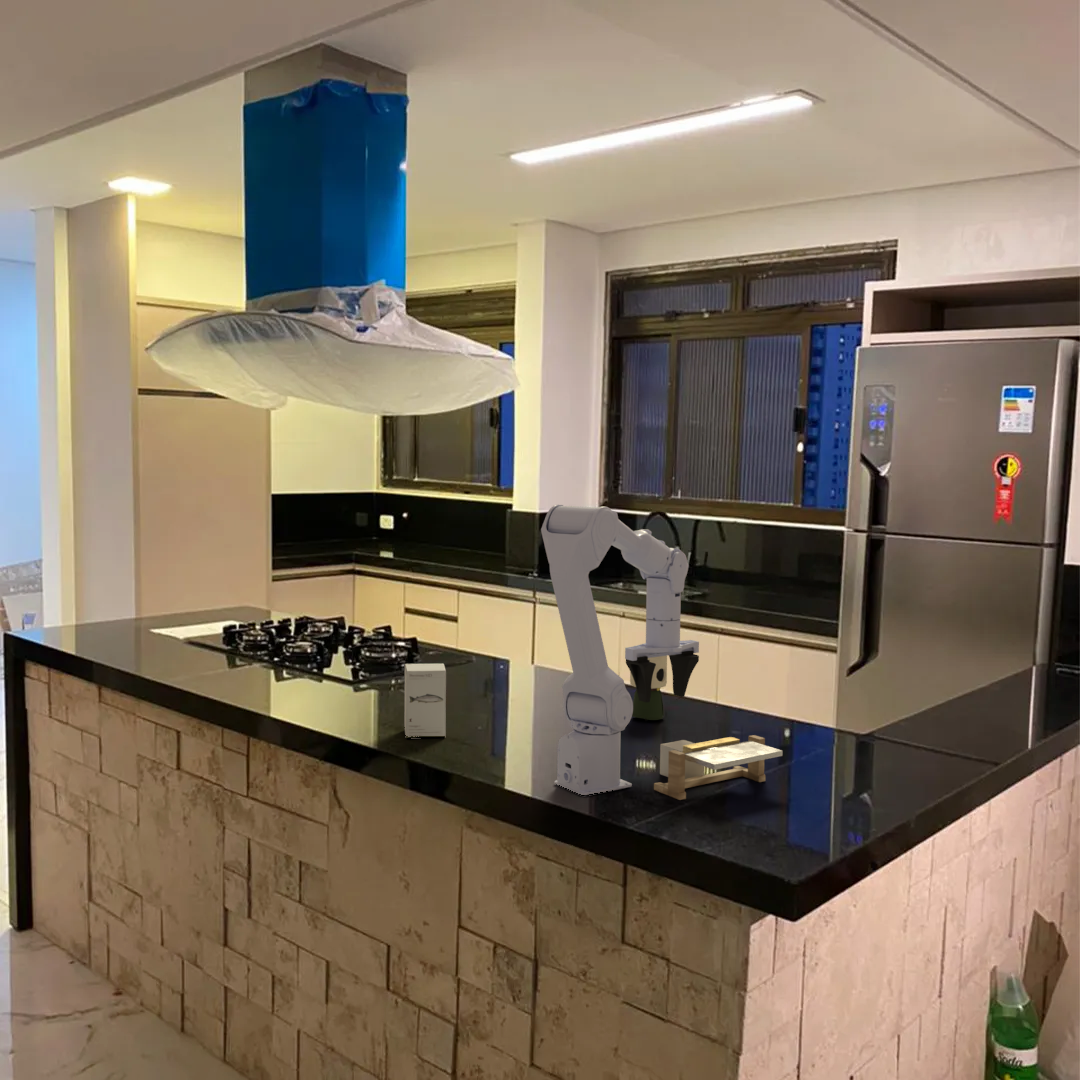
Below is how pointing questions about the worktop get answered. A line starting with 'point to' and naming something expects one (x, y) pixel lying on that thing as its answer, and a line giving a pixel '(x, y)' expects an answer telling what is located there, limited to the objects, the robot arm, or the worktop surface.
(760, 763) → the frame
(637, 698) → the character mug
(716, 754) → the trapdoor
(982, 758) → the worktop surface
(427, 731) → the supplement box
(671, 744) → the stone block
